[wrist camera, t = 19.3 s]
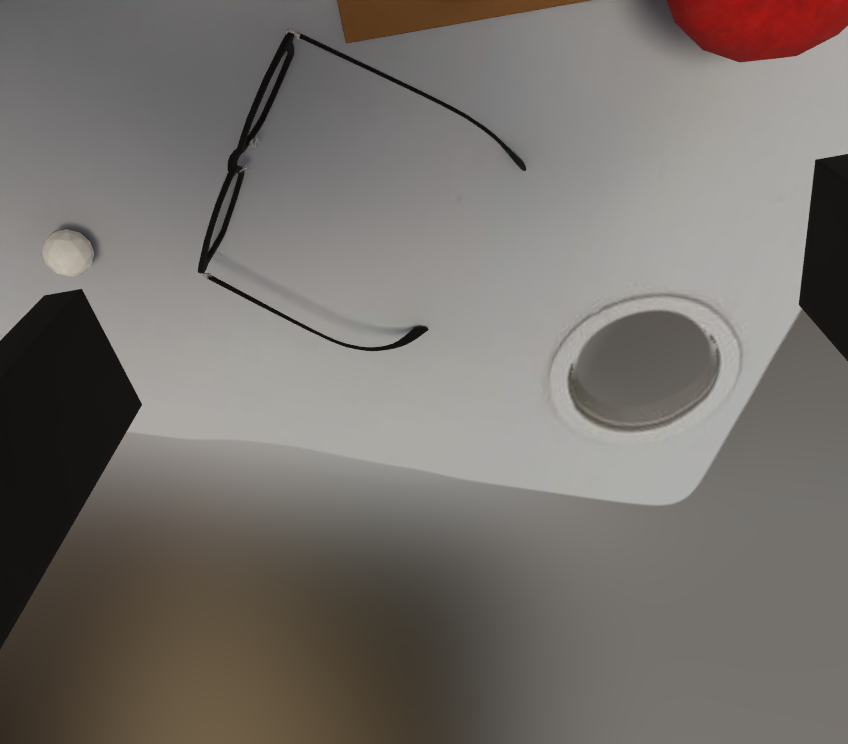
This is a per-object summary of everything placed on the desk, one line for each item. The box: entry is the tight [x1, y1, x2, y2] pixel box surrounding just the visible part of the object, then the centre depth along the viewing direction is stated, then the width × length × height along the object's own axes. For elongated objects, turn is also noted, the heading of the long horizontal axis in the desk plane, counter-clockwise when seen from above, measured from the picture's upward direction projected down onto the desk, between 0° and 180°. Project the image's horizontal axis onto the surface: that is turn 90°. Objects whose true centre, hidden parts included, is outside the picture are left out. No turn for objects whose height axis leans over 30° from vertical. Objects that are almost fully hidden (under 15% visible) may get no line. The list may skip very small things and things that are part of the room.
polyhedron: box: [42, 229, 94, 277], centre depth 45 cm, size 3×3×3 cm
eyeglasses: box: [198, 29, 526, 351], centre depth 42 cm, size 16×16×4 cm
